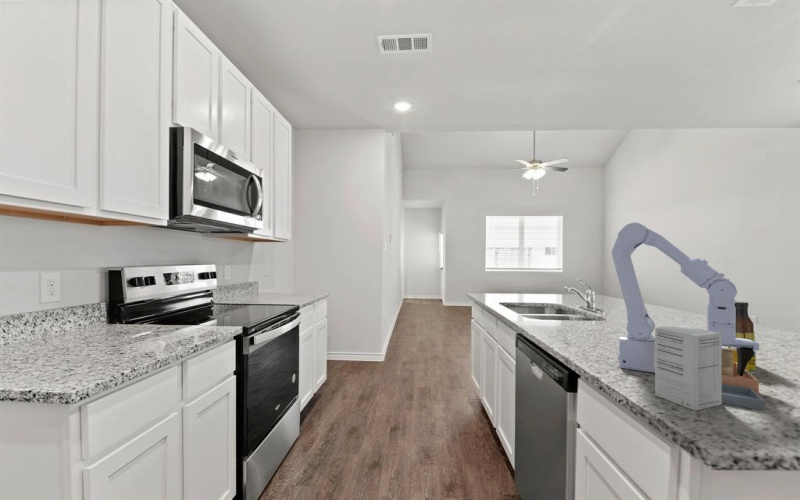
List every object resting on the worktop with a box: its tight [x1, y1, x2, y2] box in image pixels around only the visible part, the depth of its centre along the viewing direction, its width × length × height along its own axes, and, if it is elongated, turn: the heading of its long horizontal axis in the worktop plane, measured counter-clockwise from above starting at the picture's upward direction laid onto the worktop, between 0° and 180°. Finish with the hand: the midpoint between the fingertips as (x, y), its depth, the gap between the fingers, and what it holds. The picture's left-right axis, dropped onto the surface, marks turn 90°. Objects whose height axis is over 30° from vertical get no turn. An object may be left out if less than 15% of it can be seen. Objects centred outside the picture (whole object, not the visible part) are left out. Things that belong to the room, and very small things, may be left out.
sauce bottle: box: [727, 300, 756, 350], centre depth 113 cm, size 6×6×20 cm
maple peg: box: [722, 347, 733, 376], centre depth 97 cm, size 4×4×9 cm
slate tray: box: [722, 384, 766, 411], centre depth 85 cm, size 9×9×2 cm
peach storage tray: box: [722, 362, 760, 396], centre depth 97 cm, size 11×17×4 cm, turn 150°
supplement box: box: [654, 324, 723, 412], centre depth 85 cm, size 10×9×17 cm
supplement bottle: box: [731, 338, 757, 375], centre depth 106 cm, size 5×5×10 cm
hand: (721, 372), depth 97 cm, fingers open, 7 cm apart
